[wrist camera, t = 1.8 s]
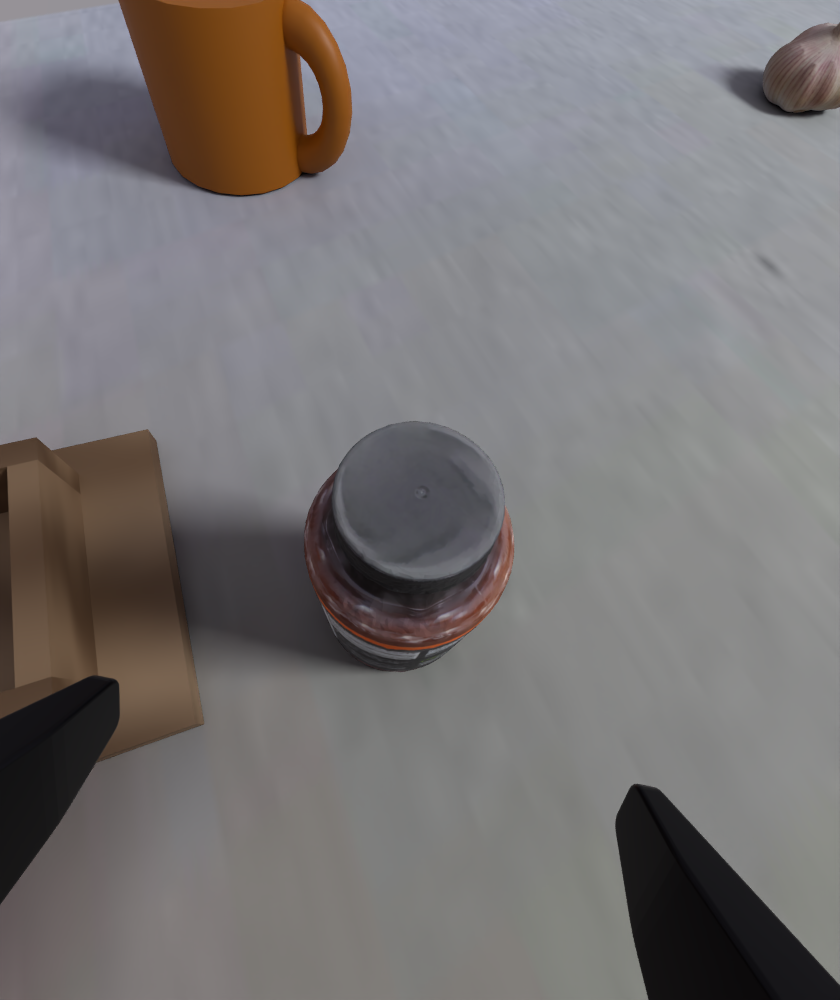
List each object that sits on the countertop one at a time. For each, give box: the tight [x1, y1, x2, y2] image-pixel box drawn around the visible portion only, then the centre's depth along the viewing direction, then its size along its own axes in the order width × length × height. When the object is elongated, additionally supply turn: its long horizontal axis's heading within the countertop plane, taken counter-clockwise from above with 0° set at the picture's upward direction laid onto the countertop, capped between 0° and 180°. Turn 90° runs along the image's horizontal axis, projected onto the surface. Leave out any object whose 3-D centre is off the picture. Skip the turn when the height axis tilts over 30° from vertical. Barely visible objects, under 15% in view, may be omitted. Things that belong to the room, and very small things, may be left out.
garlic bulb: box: [763, 23, 840, 113], centre depth 39 cm, size 8×7×8 cm
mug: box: [119, 0, 352, 195], centre depth 28 cm, size 9×12×9 cm
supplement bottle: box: [304, 421, 514, 672], centre depth 16 cm, size 6×6×11 cm
